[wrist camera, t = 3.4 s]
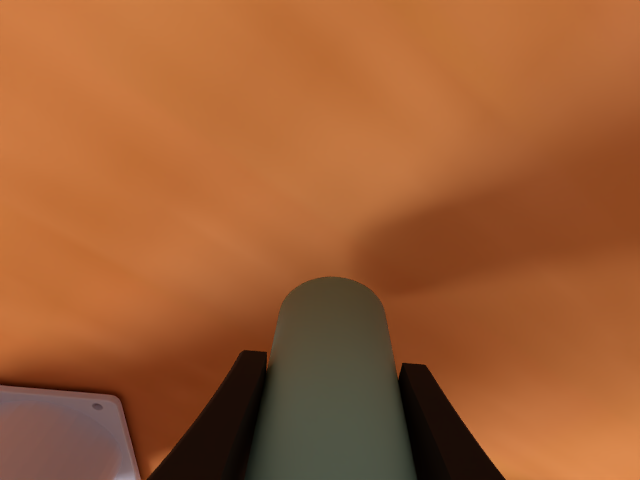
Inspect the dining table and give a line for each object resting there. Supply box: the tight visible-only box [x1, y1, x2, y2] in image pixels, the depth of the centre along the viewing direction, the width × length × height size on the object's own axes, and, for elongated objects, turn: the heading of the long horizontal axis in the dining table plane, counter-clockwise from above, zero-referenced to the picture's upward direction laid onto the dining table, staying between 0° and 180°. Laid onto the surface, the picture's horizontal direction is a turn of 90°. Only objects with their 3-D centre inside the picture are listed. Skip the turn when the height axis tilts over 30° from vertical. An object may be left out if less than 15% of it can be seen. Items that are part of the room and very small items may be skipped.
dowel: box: [244, 277, 417, 480], centre depth 9 cm, size 4×4×8 cm
